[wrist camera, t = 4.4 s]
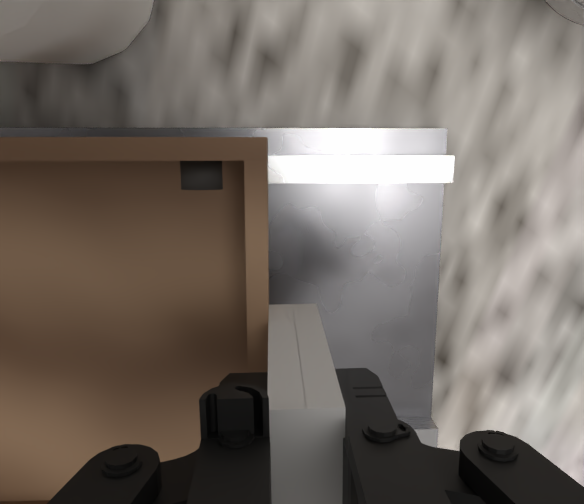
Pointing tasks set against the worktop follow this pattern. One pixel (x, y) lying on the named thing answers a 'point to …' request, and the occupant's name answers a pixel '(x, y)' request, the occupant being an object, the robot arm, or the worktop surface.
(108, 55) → the foam cup
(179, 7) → the worktop surface
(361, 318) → the grey metal tray
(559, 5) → the cup
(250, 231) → the open wooden crate
